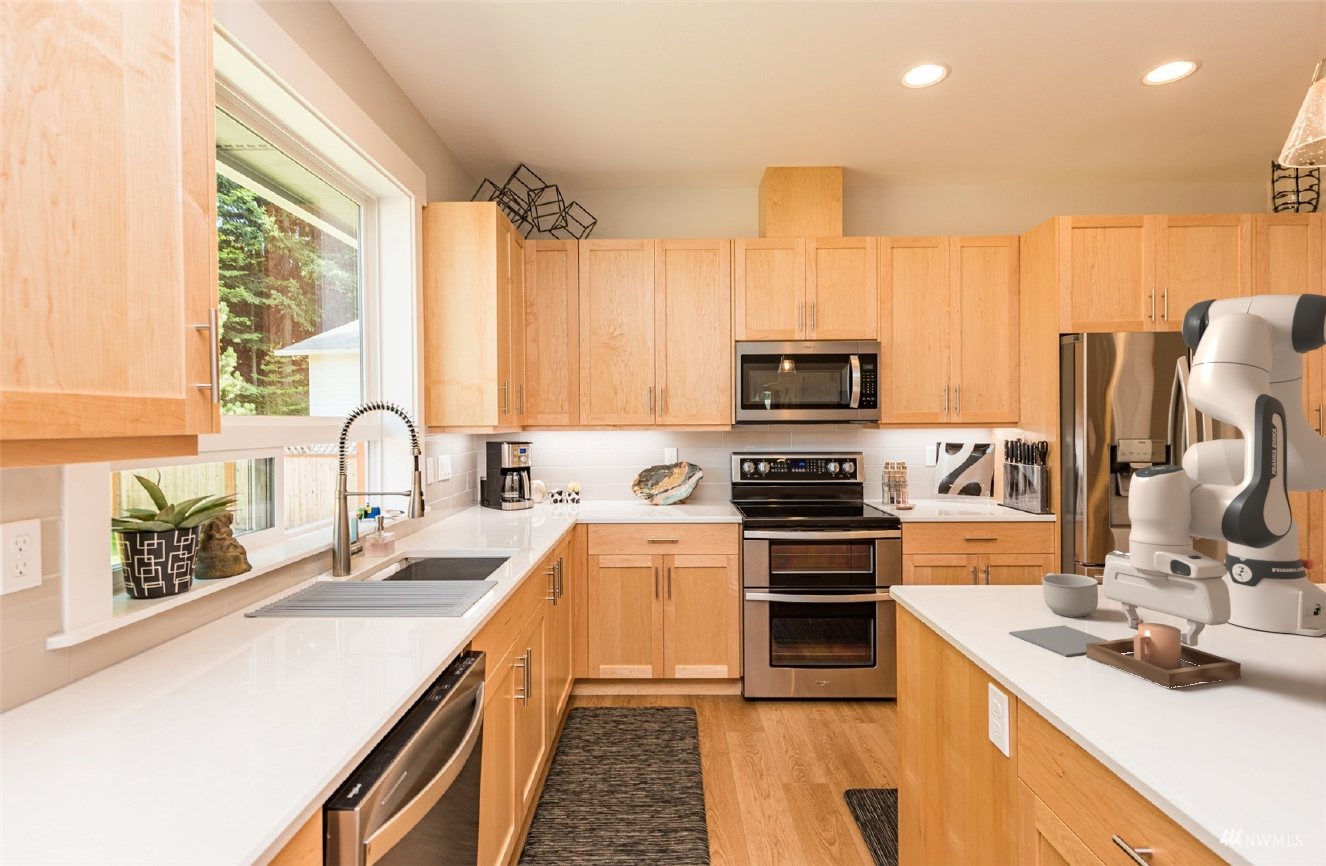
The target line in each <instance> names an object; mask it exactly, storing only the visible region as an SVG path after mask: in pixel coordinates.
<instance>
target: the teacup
mask: <svg viewBox="0 0 1326 866" xmlns="http://www.w3.org/2000/svg"><path fill="white" fill-rule="evenodd" d="M1041 582H1042V591H1043V592H1042V593H1043V599H1044V603H1045V604H1046V606H1047V607H1048V609H1050V610H1052V612H1053V613H1055V614H1057V615H1059V614H1061V615H1060V616H1063V615H1065V616H1064V617H1068V616H1073V617H1072V618H1081V617H1082V616H1084V617H1087V616H1089V615H1090V614H1091V613H1093V612H1094V611H1096V609H1097V608H1098V604H1099V591H1098V584H1099V582H1098V580H1097V579H1096V578H1093V577H1090V576H1087V575H1082V574H1081V575H1080V574H1073V573H1054V572H1049V573H1047V574H1046V575H1045V576H1042V577H1041Z"/></svg>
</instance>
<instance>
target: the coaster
mask: <svg viewBox="0 0 1326 866" xmlns="http://www.w3.org/2000/svg"><path fill="white" fill-rule="evenodd" d="M1008 634H1009V635H1010V634H1011V636H1013V637H1016V638H1018V639H1021V640H1023V641H1025V642H1028V643H1031V644H1033V645H1036V646H1038V647H1041V648H1043V649H1046V650H1048V651H1051V652H1053V653H1055V654H1058V655H1061V656H1063V657H1065V658H1066V657H1074V655H1076V656H1082V655H1087V654H1086V644H1089V643H1096V642H1104V641H1109V640H1108V639H1105V638H1102V637H1100V636H1096V635H1094V634H1090V633H1088V632H1085V631H1082V630H1080V629H1076V628H1073V627H1070V626H1067V625H1057V626H1049V627H1040V628H1031V629H1024V630H1016V631H1014V630H1013V631H1009V632H1008Z"/></svg>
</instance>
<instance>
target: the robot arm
mask: <svg viewBox="0 0 1326 866" xmlns="http://www.w3.org/2000/svg"><path fill="white" fill-rule="evenodd" d="M1181 334H1182V339H1183V342H1184V344H1185V345H1186V346H1187V347H1188V348H1189V349H1191V350H1192V351H1194V352H1195V354H1194V357H1193V360H1192V363H1191V367H1190V370H1189V375H1188V376H1189V377H1188V380H1187V384H1186V385H1187V386H1186V392H1187V393H1186V394H1187V398H1188V400H1189V402H1190V403H1191V405H1192V406H1193V407H1194V408H1195V409H1196V410H1197V411H1199V413H1201V414H1203V415H1204V416H1207V417H1209V418H1212V419H1214V420H1217V421H1219V422H1222V423H1225V424H1227V425H1231V426H1235V427H1237V429H1238V430H1240V431H1241V432H1242V435H1243V438H1225V439H1224V438H1220V439H1219V438H1218V439H1212V440H1207V441H1205V440H1204V441H1200V442H1199V441H1198V442H1195V443H1192V444H1191V445H1190V446H1189V447H1188V448H1187V450H1186V451H1185V452H1184V454H1183V457H1182V460H1181V466H1179V465H1173V464H1160V465H1159V464H1158V465H1149V466H1145V467H1141V468H1138V469H1137V470H1135V471H1134V472H1133V473H1132V475H1131V479H1130V483H1129V489H1128V502H1127V503H1128V510H1127V511H1128V514H1127V515H1128V518H1129V521H1130V525H1131V526H1130V527H1131V530H1130V534H1129V536H1128V551H1121V550H1117V549H1116V550H1115V549H1113V550H1112V551H1110V552H1108V553H1107V554H1106V555H1105V559H1104V560H1105V562H1104V563H1105V566H1104V570H1103V575H1102V588H1101V590H1102V593H1103V595H1104V597H1105V598H1106V599H1108V600H1112V601H1116V602H1120V603H1121V609H1122V611H1123V612H1124V615H1125V616H1126V618H1127V619H1128V620H1127V621H1128V622H1127V623H1128V628H1129V629H1132V630H1136V631H1138V625H1139V624H1141V623H1144V619H1141V618H1140V616H1139V614H1138V612H1137V610H1136V609H1138V608H1143V609H1146V610H1150V611H1153V612H1154V611H1155V612H1159V613H1161V614H1162V613H1163V614H1165V615H1170V616H1173V617H1178V618H1180V619H1185V620H1186V624H1187V626H1188V627H1189V629H1188V630H1187V632H1186V633H1185V632H1183V633H1182V632H1181V645H1184V646H1188V647H1197V646H1198V644H1199V636H1200V635H1201V633H1202V632H1203V630H1204V629H1205V628H1206V625H1208V626H1221V625H1225V624H1227V623H1230V624H1232V625H1235V626H1236V625H1237V626H1239V627H1245V628H1249V629H1254V630H1259V631H1266V632H1273V633H1286V634H1296V635H1304V636H1310V637H1320V636H1323V635H1326V592H1325V590H1324V589H1323V590H1322V589H1321V588H1320V587H1319V586H1317V585H1316V584H1315V583H1314V582H1313V581H1311V580H1310V579H1309V578H1308V577H1307V573H1306V570H1314V568H1315V565H1316V563H1315V561H1314V559H1305V558H1303V557H1302V558H1300V551H1299V549H1300V548H1299V545H1300V544H1299V543H1300V542H1299V525H1298V523H1297V521H1296V519H1294V518H1293V517H1292V516H1293V514H1292V513H1293V512H1292V509H1291V508H1292V507H1291V503H1290V498H1289V493H1288V492H1298V493H1299V492H1303V493H1304V492H1305V493H1306V492H1313V491H1321V490H1322V491H1323V490H1326V438H1325V437H1324V436H1323V435H1320V433H1318V432H1317V431H1316V430H1315V429H1314V428H1313V427H1312V425H1311V424H1310V422H1309V421H1308V419H1307V417H1306V414H1305V412H1304V404H1303V384H1304V383H1303V380H1304V354H1307V353H1308V352H1311V351H1315V350H1319V349H1321V348H1323V346H1325V345H1326V295H1322V294H1313V293H1302V294H1301V295H1300V294H1299V295H1298V294H1256V295H1253V296H1252V295H1251V296H1241V297H1240V296H1239V297H1233V298H1232V297H1231V298H1224V299H1218V300H1217V299H1215V298H1214V299H1208V300H1203V301H1199V302H1196V303H1195V304H1193V305H1192V306H1191V307H1189V309H1187V311H1186V313H1185V315H1184V318H1183V320H1182V323H1181ZM1192 537H1195V538H1196V537H1198V538H1202V539H1208V540H1214V541H1220V542H1221V541H1222V542H1226V543H1227V552H1225V557H1224V561H1223V562H1224V563H1222V562H1220V561H1218V560H1216V559H1213V558H1211V557H1209V556H1207V555H1205V554H1203V553H1201V552H1199V551H1197V550H1195V549H1194V548H1193V540H1192ZM1226 571H1227V572H1226Z"/></svg>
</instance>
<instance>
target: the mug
mask: <svg viewBox="0 0 1326 866" xmlns="http://www.w3.org/2000/svg"><path fill="white" fill-rule="evenodd" d="M1137 633H1138V634H1137V635H1133V638H1134V654H1133V658H1134V659H1137V660H1140V661H1143V662H1145V663H1148V664H1151V665H1154V666H1157V667H1159V668H1162V669H1165V670H1174V669H1181V668H1183V667H1182V661H1181V645H1182V642H1181V640H1182V638H1181V634H1182V631H1181V628H1178V627H1176V626H1172V625H1168V624H1163V623H1159V622H1158V623H1157V622H1143V623H1141V624H1139V625H1138V630H1137Z"/></svg>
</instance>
